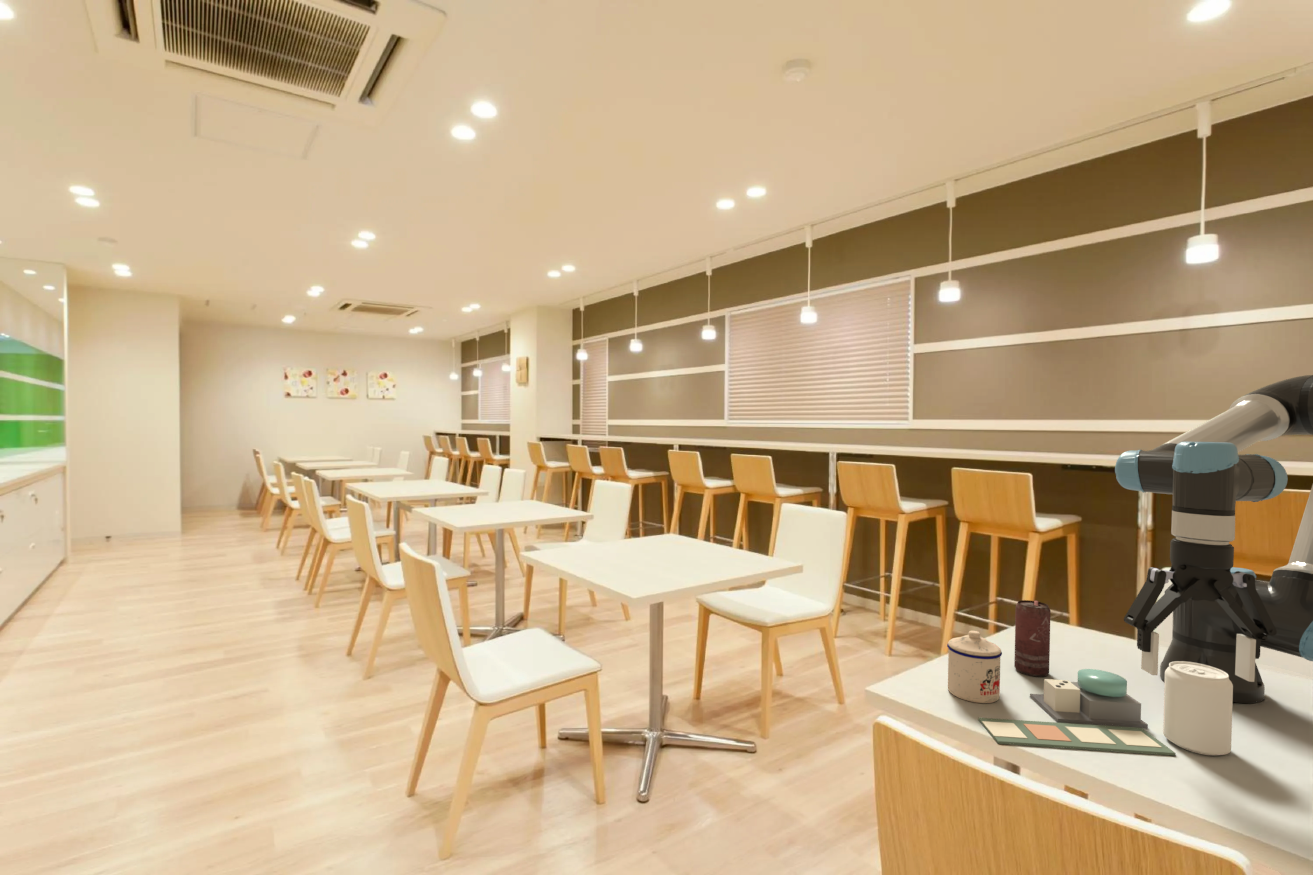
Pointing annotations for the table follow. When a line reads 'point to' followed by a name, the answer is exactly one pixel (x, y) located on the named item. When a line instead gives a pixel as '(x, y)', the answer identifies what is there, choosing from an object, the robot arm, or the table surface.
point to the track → (1074, 736)
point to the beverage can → (1198, 708)
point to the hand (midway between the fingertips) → (1196, 675)
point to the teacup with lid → (974, 668)
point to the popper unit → (1087, 706)
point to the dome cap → (1102, 683)
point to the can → (1032, 638)
